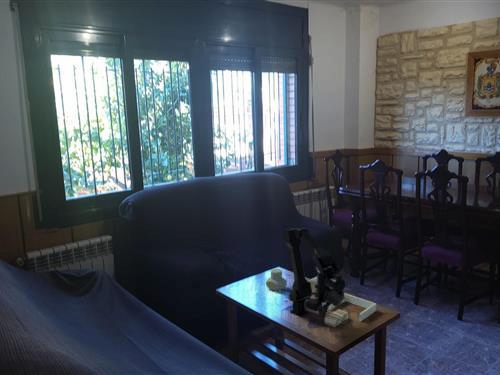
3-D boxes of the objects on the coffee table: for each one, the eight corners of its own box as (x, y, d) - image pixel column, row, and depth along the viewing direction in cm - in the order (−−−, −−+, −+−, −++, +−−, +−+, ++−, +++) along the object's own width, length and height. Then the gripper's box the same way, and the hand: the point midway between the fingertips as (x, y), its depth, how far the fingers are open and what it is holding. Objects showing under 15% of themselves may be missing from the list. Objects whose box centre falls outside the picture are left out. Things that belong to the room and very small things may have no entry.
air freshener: (263, 288, 225) (263, 270, 223) (272, 283, 231) (272, 265, 229) (280, 294, 218) (280, 275, 216) (289, 288, 224) (289, 270, 222)
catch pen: (360, 321, 189) (360, 314, 188) (328, 309, 200) (328, 302, 199) (375, 310, 199) (376, 303, 198) (344, 300, 210) (345, 293, 209)
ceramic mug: (306, 290, 221) (306, 277, 219) (316, 286, 226) (317, 273, 224) (321, 298, 213) (322, 283, 211) (332, 293, 218) (333, 279, 216)
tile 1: (334, 327, 184) (334, 321, 183) (324, 324, 187) (324, 317, 187) (340, 323, 188) (340, 317, 187) (330, 319, 191) (330, 313, 190)
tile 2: (341, 322, 188) (341, 316, 188) (332, 318, 192) (332, 312, 191) (347, 319, 192) (348, 312, 191) (338, 315, 195) (338, 309, 195)
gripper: (327, 296, 166) (326, 332, 169) (352, 281, 179) (351, 316, 182) (304, 288, 174) (304, 323, 177) (330, 275, 187) (329, 308, 190)
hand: (323, 317), depth 181 cm, fingers closed
